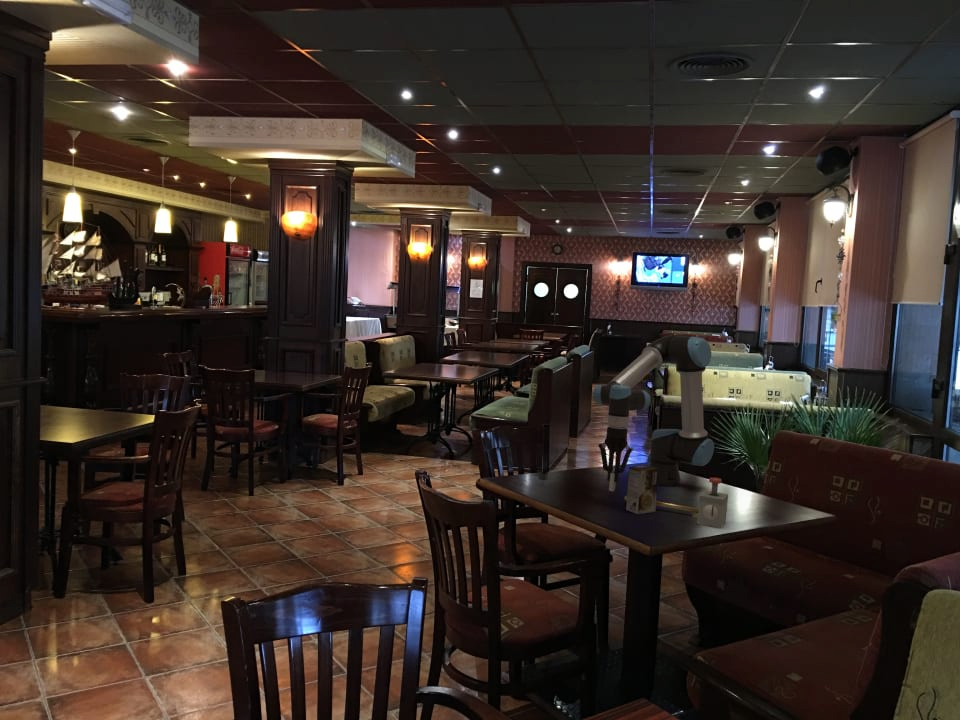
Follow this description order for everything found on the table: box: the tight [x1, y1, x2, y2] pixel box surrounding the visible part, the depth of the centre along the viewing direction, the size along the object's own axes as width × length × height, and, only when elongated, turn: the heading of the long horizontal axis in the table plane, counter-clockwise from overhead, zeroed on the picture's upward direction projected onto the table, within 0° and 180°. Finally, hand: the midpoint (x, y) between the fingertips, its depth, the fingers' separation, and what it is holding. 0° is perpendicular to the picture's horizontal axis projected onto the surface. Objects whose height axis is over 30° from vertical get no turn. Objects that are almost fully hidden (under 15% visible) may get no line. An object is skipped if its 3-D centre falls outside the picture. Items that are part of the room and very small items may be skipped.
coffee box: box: [625, 464, 658, 515], centre depth 275 cm, size 9×6×16 cm
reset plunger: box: [709, 477, 722, 494], centre depth 264 cm, size 4×4×5 cm
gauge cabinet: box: [697, 490, 729, 529], centre depth 264 cm, size 11×8×10 cm
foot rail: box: [624, 495, 699, 518], centre depth 278 cm, size 30×2×3 cm, turn 63°
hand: (611, 490), depth 279 cm, fingers closed
